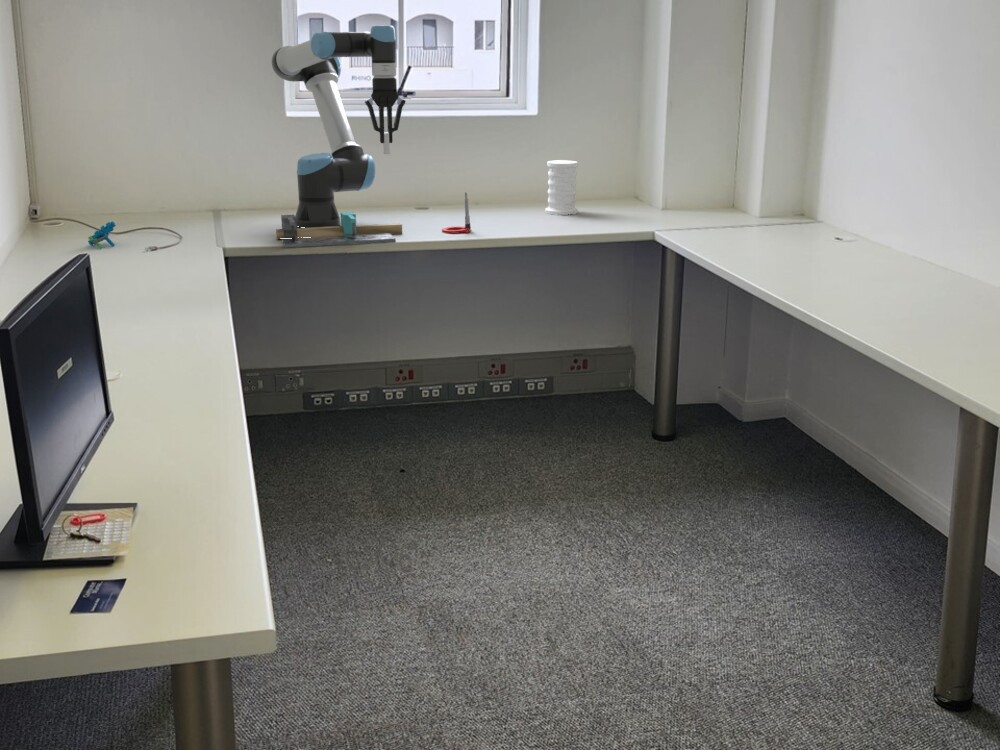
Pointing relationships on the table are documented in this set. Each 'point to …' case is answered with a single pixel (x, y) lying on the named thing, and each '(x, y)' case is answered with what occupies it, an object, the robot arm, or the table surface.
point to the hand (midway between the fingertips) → (386, 153)
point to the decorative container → (562, 187)
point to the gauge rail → (331, 229)
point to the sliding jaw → (348, 223)
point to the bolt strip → (338, 240)
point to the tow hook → (467, 221)
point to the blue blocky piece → (102, 235)
